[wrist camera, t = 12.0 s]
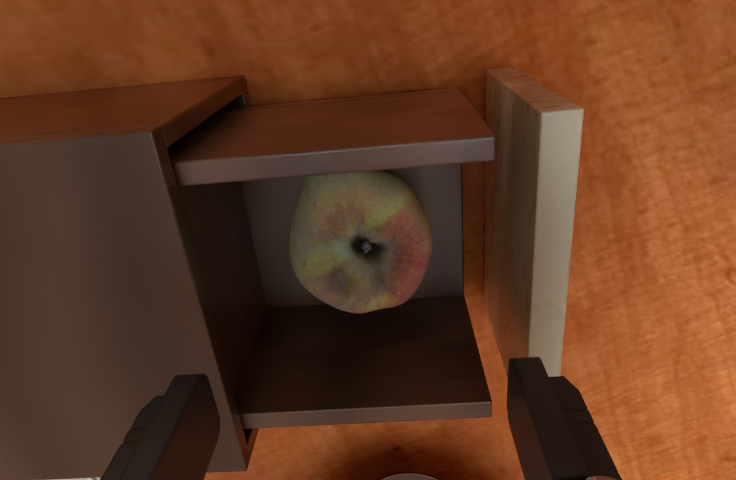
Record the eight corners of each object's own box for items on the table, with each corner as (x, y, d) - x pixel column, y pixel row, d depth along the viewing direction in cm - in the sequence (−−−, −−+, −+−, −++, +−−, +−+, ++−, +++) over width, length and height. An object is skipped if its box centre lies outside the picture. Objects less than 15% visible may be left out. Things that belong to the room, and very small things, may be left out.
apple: (330, 301, 26) (316, 379, 21) (276, 156, 23) (243, 206, 18) (444, 275, 26) (460, 350, 20) (405, 121, 22) (412, 161, 17)
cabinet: (244, 75, 23) (151, 130, 14) (290, 318, 29) (247, 471, 20) (-52, 103, 24) (-323, 172, 15) (50, 332, 30) (-100, 486, 21)
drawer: (542, 64, 22) (629, 104, 14) (529, 302, 27) (587, 427, 19) (211, 94, 23) (123, 148, 15) (261, 319, 28) (214, 445, 20)
